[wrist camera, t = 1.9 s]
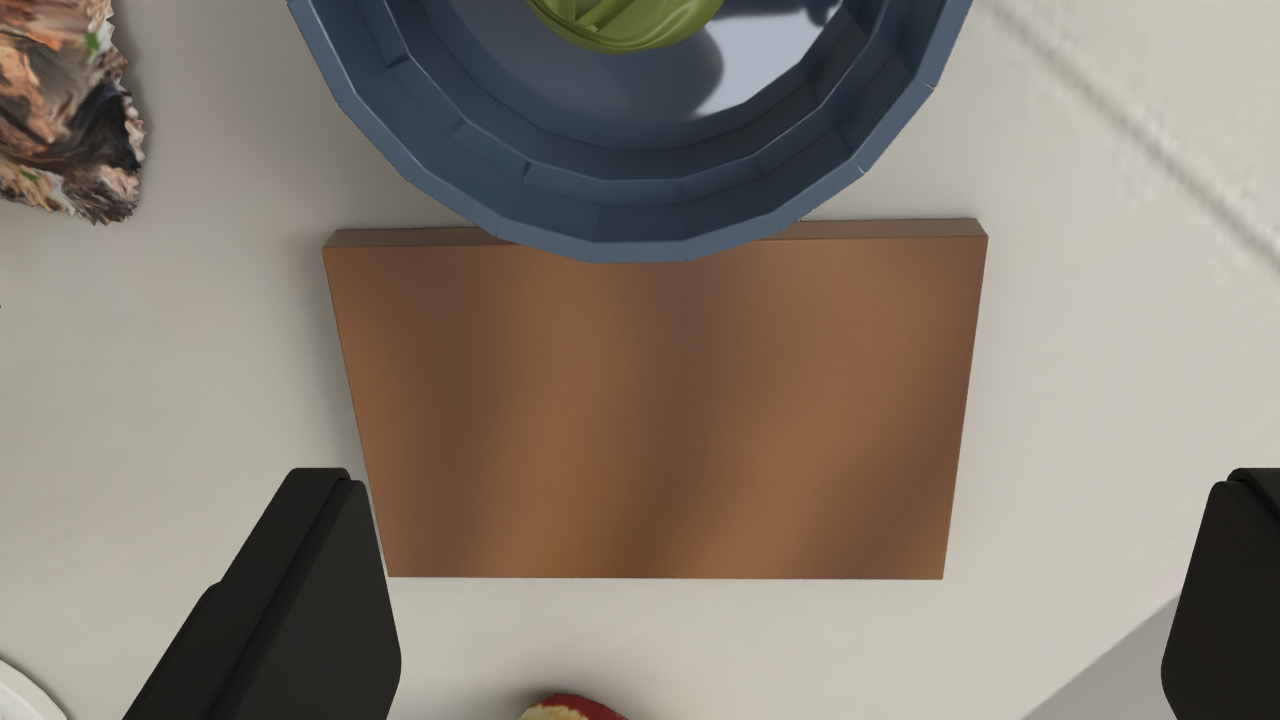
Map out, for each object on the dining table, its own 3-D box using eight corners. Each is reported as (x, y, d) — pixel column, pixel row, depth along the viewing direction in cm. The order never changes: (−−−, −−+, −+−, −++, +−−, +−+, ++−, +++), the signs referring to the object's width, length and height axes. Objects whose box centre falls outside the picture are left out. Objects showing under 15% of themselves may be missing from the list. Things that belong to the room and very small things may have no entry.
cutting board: (398, 551, 38) (387, 577, 37) (336, 229, 32) (320, 247, 31) (934, 553, 37) (943, 580, 36) (976, 217, 31) (989, 235, 29)
